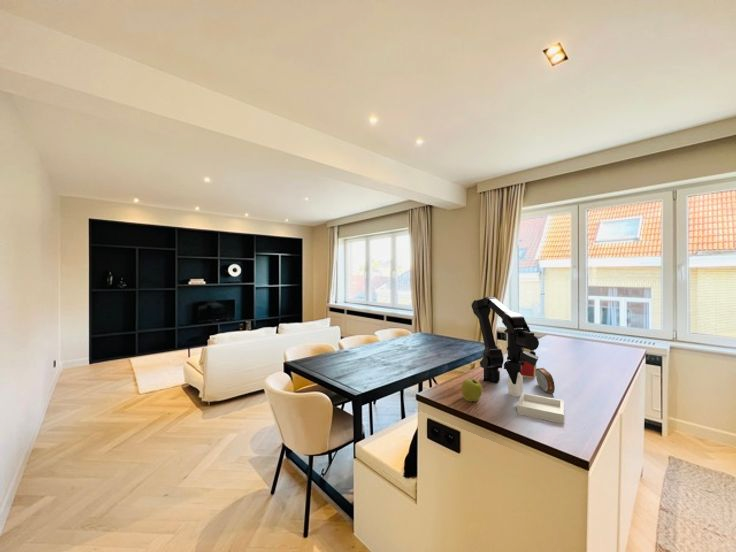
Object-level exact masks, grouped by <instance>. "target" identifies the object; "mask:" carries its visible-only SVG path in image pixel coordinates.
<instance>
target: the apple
mask: <svg viewBox="0 0 736 552" xmlns="http://www.w3.org/2000/svg"><path fill="white" fill-rule="evenodd" d="M482 392H483V386H482V384H481V382H480V381H479V380H477V379H474V378H466V379H465V380H463V382H462V384H461V394H462V396H463V398H464V399H465V401H467V402H472V401H476V402H478V401H479V399H480V398H481V396H482Z"/></svg>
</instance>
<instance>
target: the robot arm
mask: <svg viewBox="0 0 736 552" xmlns="http://www.w3.org/2000/svg"><path fill="white" fill-rule="evenodd" d="M470 305H471V306H470V307H471V309H472V312H473V314H474V316H475V317H477V318H478V322H479V326H480V331H481V335H482V340H483V344H484V349H483V352H482V356H483V358H482V359H481V360H480V361H479V366H480V368H482V369H483V379H482V381H483V382H488V383H493V384H498V383H499V382H500V380H501V371H500V370H499V369H502V368H503V370H506V372H507V374H508V375H509V376H510V379H511V381H512V383H513V384H516V382H517V376H518V373H519V372H520V371H521V370H522V366H523V365H524V364H525V363H523V362H527V363H530V364H531V365H533V366H535V365H536V366H537V362H538V361H539V356H538V355H537V354H536V350H537V349H538V348H539V345H540V341H539V339H538V337H537V336H535V333H534V332H531V330H530V327H529V325H528V323H527V321H526V319H525V317H524V316H523V315H521V314H520V313H517V312H515V311H512V310H510V309H508V308H507V307H506V306H505V305H504V304H503V303H501V302H500V300H498V299H497V297H495V296H486V297H484V298H480V299H474V300H473V302H471V304H470ZM492 311H493V312H494V313H495V314H496V315H497V316H498V317H500V319H501V320H502V321H501V322H502V324H503V325H504V327H506V329H505V330H503V332H504V333H505V334H507V338H506V339H507V347H506V351H507V357H506V361H505V362H504V355H503V351H502V348H499V347H498V346H497V345H496V341H495V340H496V339H495V336H494V332H493V329H492V328H493V327H492V325H491V320H490V314H491V312H492ZM524 348H525V349H528V350H534V351H531V352H529V353H528V352H526V351H524Z"/></svg>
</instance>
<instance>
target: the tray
mask: <svg viewBox="0 0 736 552" xmlns="http://www.w3.org/2000/svg"><path fill="white" fill-rule="evenodd" d="M516 407H517V408H516V409H517V410H516V411H517V415H520V416H526V417H530V418H536V419H541V420H545V421H548V422H549V421H550V422H554V423H559V424H564V423H565V421H564V420H565V414H564V413H565V409H564V407H565V405H564V399H559V398H553V397H548V396H543V395H536V394H530V393H525V392H523V393H522V394H521V396H519V400H518V403H517V406H516Z"/></svg>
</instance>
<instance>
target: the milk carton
mask: <svg viewBox="0 0 736 552" xmlns="http://www.w3.org/2000/svg"><path fill="white" fill-rule="evenodd" d="M524 351H526V352H528V353H529V352H531V351H534V352H535V350H528V349H525V348H524ZM523 363H525V364H524V365H523V366H522V370H521V371H520V374H521V375H522V377H523V378H528V379H532V380H533V379H536V369H537V364H536V365H535V366H533V365H531V364H530V363H527V362H523Z"/></svg>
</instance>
